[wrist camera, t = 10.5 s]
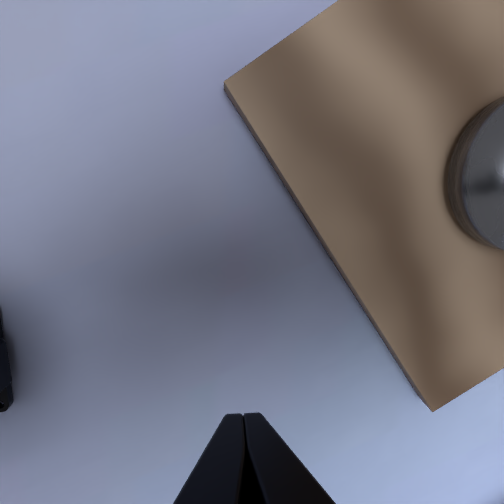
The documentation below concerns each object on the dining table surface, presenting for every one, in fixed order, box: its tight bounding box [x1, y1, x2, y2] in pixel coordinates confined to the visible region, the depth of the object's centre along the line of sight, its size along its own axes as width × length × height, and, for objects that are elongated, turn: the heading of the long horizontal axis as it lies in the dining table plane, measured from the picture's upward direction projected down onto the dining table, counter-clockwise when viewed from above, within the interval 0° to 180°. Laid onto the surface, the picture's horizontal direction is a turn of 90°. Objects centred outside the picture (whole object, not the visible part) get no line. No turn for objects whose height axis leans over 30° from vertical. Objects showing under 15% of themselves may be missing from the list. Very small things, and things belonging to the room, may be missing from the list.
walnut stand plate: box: [224, 0, 504, 412], centre depth 19 cm, size 18×22×2 cm
